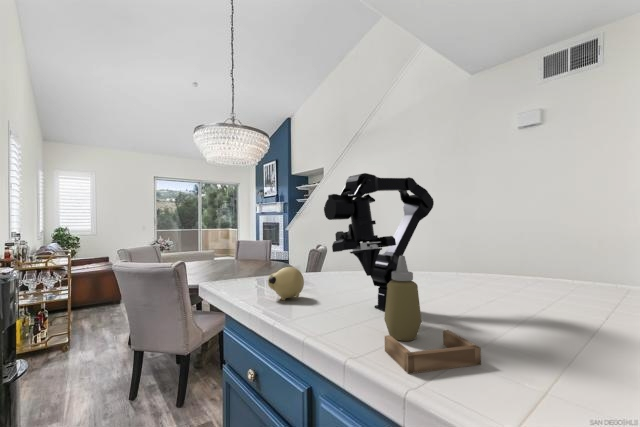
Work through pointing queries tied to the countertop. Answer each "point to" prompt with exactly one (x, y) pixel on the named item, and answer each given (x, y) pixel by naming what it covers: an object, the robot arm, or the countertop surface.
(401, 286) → the squeeze bottle
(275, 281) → the beige round figure
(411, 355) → the bay
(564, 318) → the countertop surface
